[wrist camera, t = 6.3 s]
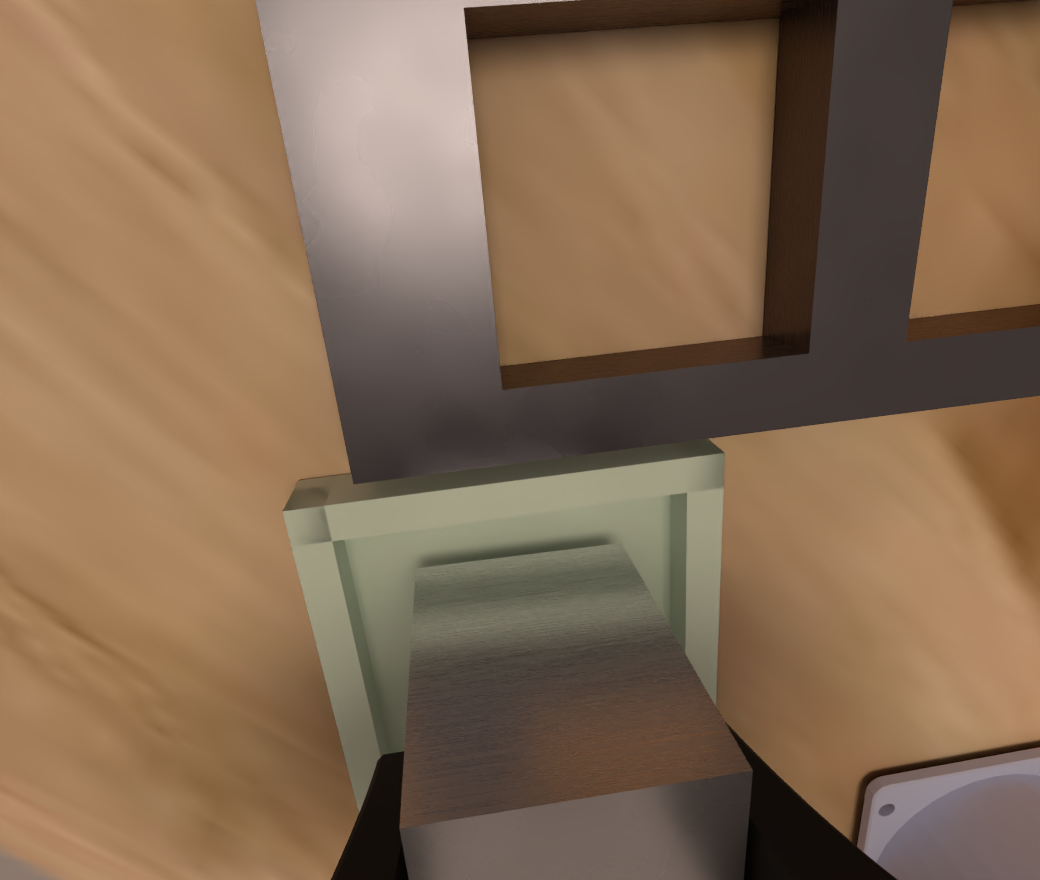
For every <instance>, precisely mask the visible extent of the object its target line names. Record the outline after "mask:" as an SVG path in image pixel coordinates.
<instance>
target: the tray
mask: <svg viewBox="0 0 1040 880" xmlns="http://www.w3.org/2000/svg"><path fill="white" fill-rule="evenodd" d="M724 460H725V453H724V452H723V451H722V450H721V449H719V448H718V447H717V446H716V445H715V444H713V443H712V442H711V441H710V440H709V439H700V440H693V441H685V442H677V443H669V444H662V445H654V446H646V447H639V448H631V449H623V450H615V451H608V452H600V453H592V454H585V455H577V456H569V457H561V458H554V459H546V460H538V461H531V462H523V463H515V464H507V465H500V466H492V467H484V468H477V469H469V470H461V471H453V472H446V473H438V474H430V475H423V476H415V477H407V478H399V479H392V480H384V481H376V482H369V483H361V484H353V479H352V475H351V474H344V475H336V476H328V477H320V478H313V479H305V480H299V481H298V483H297V485H296V487H295V489H294V491H293V492H292V494H291V496H290V498H289V500H288V502H287V504H286V506H285V508H284V510H283V515H284V519H285V523H286V527H287V531H288V535H289V539H290V543H291V547H292V551H293V555H294V559H295V563H296V567H297V570H298V574H299V578H300V582H301V586H302V590H303V594H304V598H305V602H306V606H307V610H308V614H309V618H310V622H311V626H312V630H313V634H314V638H315V642H316V646H317V650H318V653H319V657H320V661H321V665H322V669H323V673H324V677H325V681H326V685H327V689H328V693H329V697H330V701H331V705H332V709H333V713H334V717H335V721H336V725H337V729H338V732H339V736H340V740H341V744H342V748H343V752H344V756H345V760H346V764H347V768H348V772H349V776H350V780H351V784H352V788H353V792H354V796H355V800H356V804H357V808H358V812H360V810H361V807H362V805H363V802H364V799H365V797H366V794H367V791H368V788H369V785H370V782H371V780H372V777H373V774H374V770H375V767H376V764H377V761H378V759H379V758H380V757H381V756H382V755H383V754H389V753H395V752H401V751H404V748H405V733H406V717H407V701H408V685H409V669H410V653H411V637H412V621H413V606H414V590H415V574H416V568H423V567H431V566H439V565H447V564H455V563H463V562H471V561H479V560H487V559H495V558H504V557H512V556H520V555H528V554H536V553H544V552H552V551H560V550H568V549H576V548H584V547H593V546H601V545H609V544H617V543H622V545H623V547H624V548H625V550H626V552H627V553H628V555H629V557H630V559H631V560H632V562H633V564H634V566H635V567H636V569H637V571H638V572H639V574H640V576H641V578H642V579H643V581H644V583H645V585H646V586H647V588H648V590H649V592H650V593H651V595H652V597H653V598H654V600H655V602H656V604H657V605H658V607H659V609H660V611H661V612H662V614H663V616H664V618H665V619H666V621H667V623H668V624H669V626H670V628H671V630H672V631H673V633H674V635H675V637H676V638H677V640H678V642H679V643H680V645H681V647H682V649H683V650H684V652H685V654H686V656H687V657H688V659H689V661H690V663H691V664H692V666H693V668H694V669H695V671H696V673H697V675H698V676H699V678H700V680H701V682H702V683H703V685H704V687H705V689H706V690H707V692H708V694H709V695H710V697H711V699H712V701H713V702H714V704H715V706H716V690H717V662H718V633H719V604H720V575H721V546H722V517H723V489H724Z"/></svg>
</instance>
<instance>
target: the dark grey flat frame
mask: <svg viewBox="0 0 1040 880" xmlns="http://www.w3.org/2000/svg"><path fill="white" fill-rule="evenodd" d="M1008 1H1022V0H255V2H256V7H257V12H258V17H259V21H260V26H261V31H262V36H263V41H264V46H265V51H266V56H267V61H268V66H269V71H270V76H271V81H272V86H273V90H274V95H275V100H276V105H277V110H278V115H279V120H280V125H281V130H282V135H283V140H284V145H285V150H286V154H287V159H288V164H289V169H290V174H291V179H292V184H293V189H294V194H295V199H296V204H297V209H298V214H299V218H300V223H301V228H302V233H303V238H304V243H305V248H306V253H307V258H308V263H309V268H310V273H311V278H312V282H313V287H314V292H315V297H316V302H317V307H318V312H319V317H320V322H321V327H322V332H323V337H324V342H325V346H326V351H327V356H328V361H329V366H330V371H331V376H332V381H333V386H334V391H335V396H336V401H337V406H338V410H339V415H340V420H341V425H342V430H343V435H344V440H345V445H346V450H347V455H348V460H349V465H350V470H351V475H352V479H353V484H361V483H369V482H376V481H384V480H392V479H399V478H407V477H415V476H423V475H430V474H438V473H446V472H453V471H461V470H469V469H477V468H484V467H492V466H500V465H507V464H515V463H523V462H531V461H538V460H546V459H554V458H561V457H569V456H577V455H585V454H592V453H600V452H608V451H615V450H623V449H631V448H639V447H646V446H654V445H662V444H669V443H677V442H685V441H693V440H700V439H708V438H716V437H723V436H731V435H739V434H747V433H754V432H762V431H770V430H777V429H785V428H793V427H801V426H808V425H816V424H824V423H831V422H839V421H847V420H855V419H862V418H870V417H878V416H885V415H893V414H901V413H909V412H916V411H924V410H932V409H939V408H947V407H955V406H963V405H970V404H978V403H986V402H994V401H1001V400H1009V399H1017V398H1024V397H1032V396H1040V304H1038V305H1029V306H1020V307H1012V308H1003V309H995V310H986V311H977V312H969V313H960V314H951V315H943V316H934V317H925V318H917V319H909V313H910V306H911V299H912V292H913V285H914V277H915V270H916V263H917V256H918V249H919V241H920V234H921V227H922V220H923V213H924V205H925V198H926V191H927V184H928V177H929V169H930V162H931V155H932V148H933V141H934V133H935V126H936V119H937V112H938V105H939V97H940V90H941V83H942V76H943V69H944V61H945V54H946V47H947V40H948V32H949V25H950V18H951V11H952V5H964V4H979V3H993V2H1008ZM777 17H781V21H780V39H779V57H778V76H777V94H776V112H775V130H774V148H773V167H772V185H771V203H770V221H769V240H768V258H767V276H766V294H765V312H764V331H763V336H761V337H753V338H744V339H735V340H727V341H718V342H709V343H701V344H692V345H683V346H675V347H666V348H658V349H649V350H640V351H632V352H623V353H614V354H606V355H597V356H588V357H580V358H571V359H563V360H554V361H545V362H537V363H528V364H519V365H511V366H502V367H500V362H499V352H498V343H497V333H496V323H495V313H494V303H493V293H492V283H491V273H490V264H489V254H488V244H487V234H486V224H485V214H484V204H483V195H482V185H481V175H480V165H479V155H478V145H477V135H476V125H475V116H474V106H473V96H472V86H471V76H470V66H469V56H468V47H467V39H474V38H488V37H502V36H517V35H531V34H546V33H560V32H575V31H589V30H603V29H618V28H632V27H647V26H661V25H676V24H690V23H704V22H719V21H733V20H748V19H762V18H777Z"/></svg>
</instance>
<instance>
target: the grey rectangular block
mask: <svg viewBox="0 0 1040 880" xmlns="http://www.w3.org/2000/svg"><path fill="white" fill-rule="evenodd" d="M752 775H753V770H752V768H751V766H750V765H749V763H748V761H747V759H746V758H745V756H744V754H743V753H742V751H741V749H740V747H739V746H738V744H737V742H736V740H735V739H734V737H733V735H732V734H731V732H730V730H729V728H728V727H727V725H726V723H725V721H724V720H723V718H722V716H721V714H720V713H719V711H718V709H717V708H716V706H715V704H714V702H713V701H712V699H711V697H710V695H709V694H708V692H707V690H706V689H705V687H704V685H703V683H702V682H701V680H700V678H699V676H698V675H697V673H696V671H695V669H694V668H693V666H692V664H691V663H690V661H689V659H688V657H687V656H686V654H685V652H684V650H683V649H682V647H681V645H680V643H679V642H678V640H677V638H676V637H675V635H674V633H673V631H672V630H671V628H670V626H669V624H668V623H667V621H666V619H665V618H664V616H663V614H662V612H661V611H660V609H659V607H658V605H657V604H656V602H655V600H654V598H653V597H652V595H651V593H650V592H649V590H648V588H647V586H646V585H645V583H644V581H643V579H642V578H641V576H640V574H639V572H638V571H637V569H636V567H635V566H634V564H633V562H632V560H631V559H630V557H629V555H628V553H627V552H626V550H625V548H624V547H623V545H622V543H617V544H609V545H601V546H593V547H584V548H576V549H568V550H560V551H552V552H544V553H536V554H528V555H520V556H512V557H504V558H495V559H487V560H479V561H471V562H463V563H455V564H447V565H439V566H431V567H423V568H416V574H415V590H414V606H413V621H412V637H411V653H410V669H409V685H408V701H407V717H406V733H405V748H404V764H403V780H402V796H401V812H400V828H399V829H400V834H401V840H402V845H403V851H404V856H405V862H406V867H407V873H408V878H409V880H744V870H745V858H746V846H747V834H748V823H749V811H750V799H751V787H752Z"/></svg>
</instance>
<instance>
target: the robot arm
mask: <svg viewBox="0 0 1040 880" xmlns="http://www.w3.org/2000/svg"><path fill="white" fill-rule="evenodd" d="M725 723H726V722H725ZM726 725H727V727H728V728H729V730H730V732H731V734H732V735H733V737H734V739H735V740H736V742H737V744H738V746H739V747H740V749H741V751H742V753H743V754H744V756H745V758H746V759H747V761H748V763H749V765H750V766H751V768H752V770H753V775H752V787H751V799H750V811H749V823H748V834H747V846H746V858H745V870H744V880H1040V747H1038V748H1032V749H1027V750H1021V751H1016V752H1010V753H1005V754H999V755H994V756H988V757H983V758H978V759H972V760H967V761H961V762H956V763H950V764H945V765H939V766H934V767H928V768H923V769H918V770H912V771H907V772H901V773H896V774H890V775H885V776H880V777H877V778H875V779H874V780H872V781H871V782H870V783H869V784H868V786H867V789H866V793H865V799H864V806H863V812H862V818H861V825H860V831H859V838H858V844H857V846H856V845H854V844H853V843H852V842H851V841H850V840H849V839H847V838H846V837H845V836H844V835H843V834H842V833H840V832H839V831H838V830H837V829H836V828H835V827H834V826H832V825H831V824H830V823H829V822H828V821H827V820H826V819H824V818H823V817H822V816H821V815H820V814H819V813H818V812H817V811H816V810H814V809H813V808H812V807H811V806H810V805H809V804H808V803H807V802H806V801H805V800H804V799H802V798H801V797H800V796H799V795H798V794H797V793H796V792H795V791H794V790H793V789H792V788H791V787H790V786H789V785H788V784H787V783H786V782H784V781H783V780H782V779H781V778H780V777H779V776H778V775H777V774H776V773H775V772H774V771H773V770H772V769H771V768H770V767H769V766H768V765H767V764H766V763H765V762H764V761H763V760H762V759H761V758H760V757H759V756H758V755H757V754H756V753H755V752H754V751H753V750H752V749H751V748H750V747H749V746H748V745H747V744H746V743H745V742H744V741H743V740H742V739H741V738H740V737H739V736H738V735H737V734H736V733H735V732H734V731H733V730H732V728H731V727H730V726H729V725H728V724H727V723H726ZM403 764H404V751H401V752H395V753H389V754H383V755H382V756H381V757H380V758H379V759H378V761H377V764H376V767H375V770H374V774H373V777H372V780H371V782H370V785H369V788H368V791H367V794H366V797H365V799H364V802H363V805H362V807H361V810H360V812H359V815H358V817H357V820H356V822H355V825H354V827H353V830H352V833H351V835H350V837H349V840H348V842H347V844H346V846H345V849H344V851H343V853H342V856H341V858H340V860H339V862H338V865H337V867H336V869H335V872H334V874H333V876H332V878H331V880H409V878H408V873H407V867H406V862H405V856H404V851H403V845H402V840H401V834H400V829H399V828H400V812H401V796H402V780H403Z"/></svg>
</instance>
